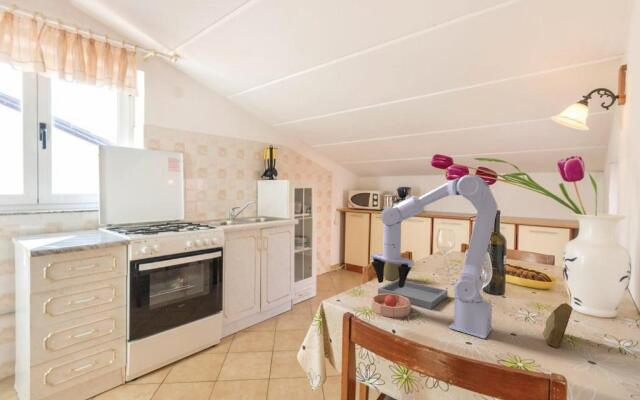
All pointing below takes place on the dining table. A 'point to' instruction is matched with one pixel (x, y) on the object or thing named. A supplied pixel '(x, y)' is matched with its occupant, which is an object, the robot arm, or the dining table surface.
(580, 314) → the dining table surface
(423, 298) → the tray
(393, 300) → the ball
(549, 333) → the rock
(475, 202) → the robot arm
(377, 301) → the pink bowl
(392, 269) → the squeeze bottle
